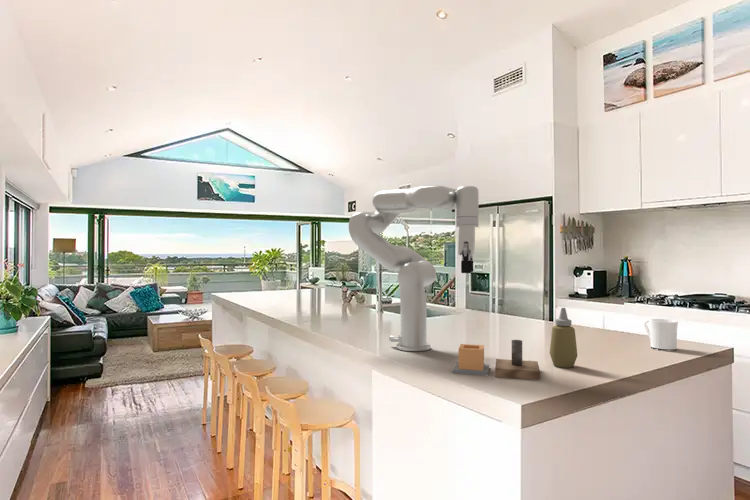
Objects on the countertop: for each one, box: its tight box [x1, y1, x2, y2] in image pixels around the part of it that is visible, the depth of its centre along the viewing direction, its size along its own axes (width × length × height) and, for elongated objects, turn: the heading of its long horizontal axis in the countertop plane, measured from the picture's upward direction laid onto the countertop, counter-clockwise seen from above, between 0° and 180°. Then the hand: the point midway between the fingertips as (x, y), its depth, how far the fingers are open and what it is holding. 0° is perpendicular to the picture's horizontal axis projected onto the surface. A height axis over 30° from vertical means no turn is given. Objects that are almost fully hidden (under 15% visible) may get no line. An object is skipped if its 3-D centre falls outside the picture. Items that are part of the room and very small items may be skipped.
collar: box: [458, 343, 485, 370], centre depth 143 cm, size 7×7×6 cm
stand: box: [494, 339, 541, 381], centre depth 140 cm, size 12×12×10 cm
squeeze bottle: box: [549, 307, 578, 369], centre depth 148 cm, size 8×8×18 cm
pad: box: [452, 361, 491, 376], centre depth 143 cm, size 10×10×1 cm
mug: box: [643, 318, 679, 351], centre depth 175 cm, size 11×9×10 cm
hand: (467, 272), depth 164 cm, fingers open, 9 cm apart
